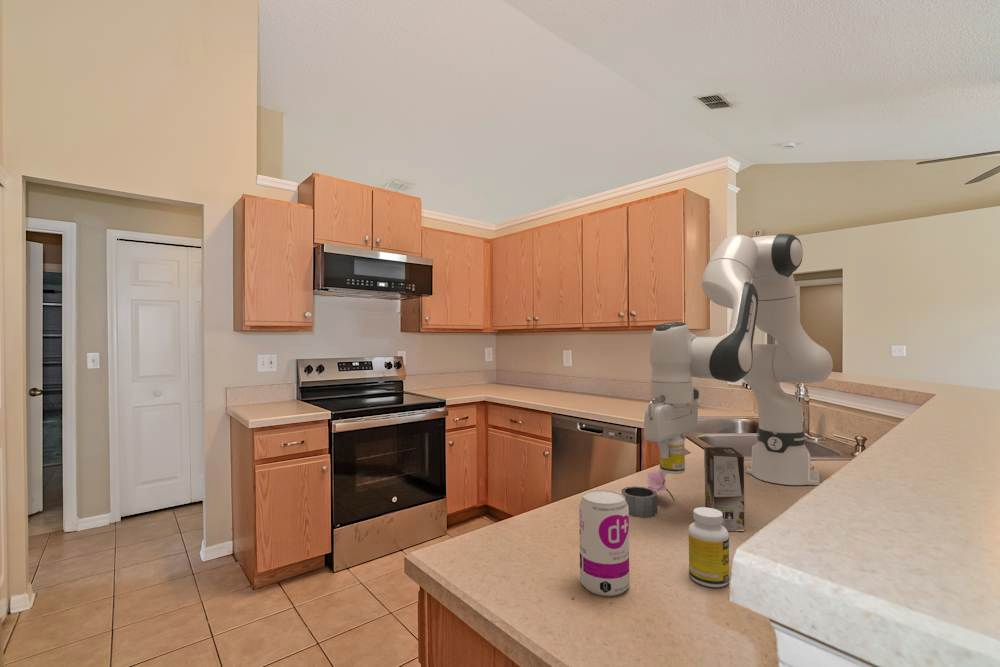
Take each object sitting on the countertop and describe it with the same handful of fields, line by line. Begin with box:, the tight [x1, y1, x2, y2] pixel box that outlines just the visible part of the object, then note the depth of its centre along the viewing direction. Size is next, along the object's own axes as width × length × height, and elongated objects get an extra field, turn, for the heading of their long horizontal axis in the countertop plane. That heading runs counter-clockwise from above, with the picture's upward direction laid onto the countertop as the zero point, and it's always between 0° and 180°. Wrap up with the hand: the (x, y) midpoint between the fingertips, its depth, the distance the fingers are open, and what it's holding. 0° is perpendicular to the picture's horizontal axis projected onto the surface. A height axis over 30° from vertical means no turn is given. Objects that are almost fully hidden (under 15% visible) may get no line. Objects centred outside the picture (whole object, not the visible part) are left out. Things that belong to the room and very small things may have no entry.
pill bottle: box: [687, 506, 730, 588], centre depth 82 cm, size 6×6×12 cm
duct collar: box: [621, 486, 658, 518], centre depth 114 cm, size 8×8×4 cm
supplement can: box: [578, 489, 631, 597], centre depth 81 cm, size 8×8×15 cm
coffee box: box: [703, 446, 745, 532], centre depth 106 cm, size 9×6×16 cm
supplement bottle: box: [658, 429, 686, 475], centre depth 108 cm, size 5×5×10 cm
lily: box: [646, 469, 676, 502], centre depth 121 cm, size 12×12×10 cm
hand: (672, 455), depth 108 cm, fingers closed on supplement bottle, 5 cm apart
